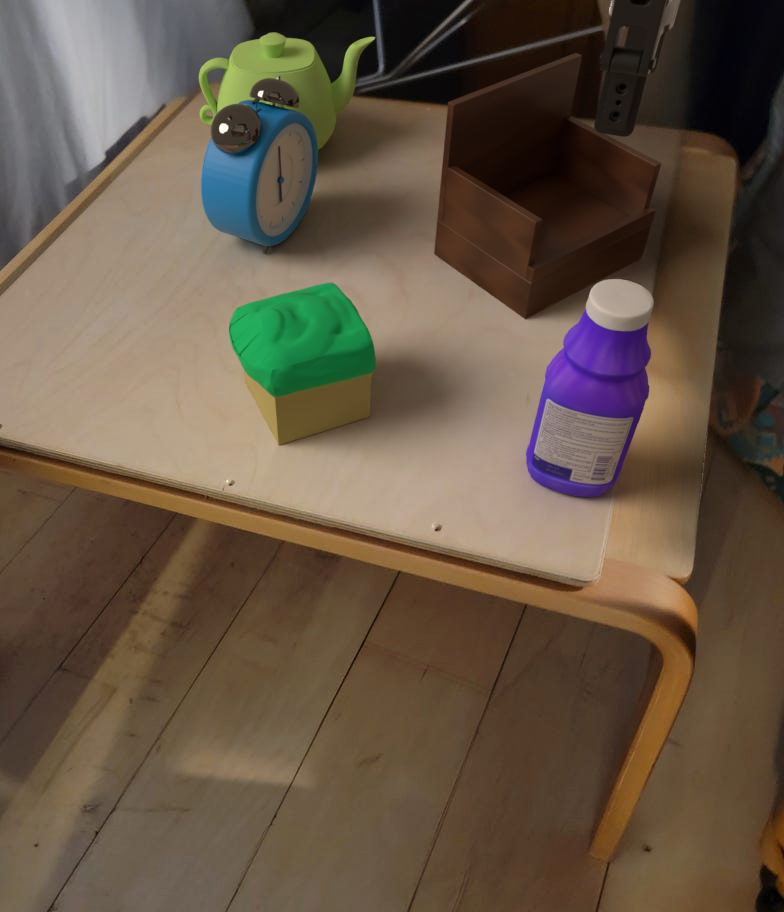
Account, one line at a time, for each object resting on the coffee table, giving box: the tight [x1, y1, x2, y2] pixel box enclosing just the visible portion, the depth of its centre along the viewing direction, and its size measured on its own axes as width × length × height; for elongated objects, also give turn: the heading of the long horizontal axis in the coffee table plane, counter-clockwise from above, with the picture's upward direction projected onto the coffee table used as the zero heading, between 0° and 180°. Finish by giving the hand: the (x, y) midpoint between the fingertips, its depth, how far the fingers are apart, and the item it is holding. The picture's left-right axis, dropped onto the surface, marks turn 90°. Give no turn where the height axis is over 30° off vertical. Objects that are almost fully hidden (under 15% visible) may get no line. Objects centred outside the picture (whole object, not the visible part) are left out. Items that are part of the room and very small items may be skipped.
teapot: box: [198, 31, 376, 151], centre depth 103 cm, size 16×14×13 cm
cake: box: [228, 281, 377, 446], centre depth 74 cm, size 10×11×10 cm
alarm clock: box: [200, 75, 319, 255], centre depth 90 cm, size 13×6×15 cm, turn 150°
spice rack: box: [433, 52, 663, 320], centre depth 85 cm, size 13×16×16 cm
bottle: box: [525, 278, 655, 498], centre depth 65 cm, size 7×6×17 cm
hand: (625, 99), depth 55 cm, fingers open, 8 cm apart
